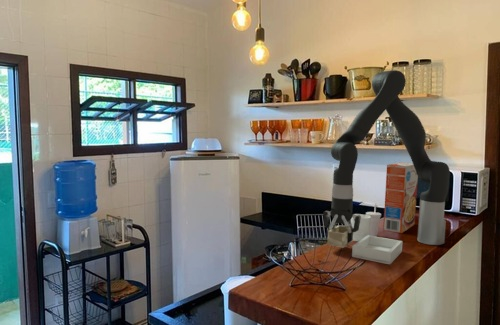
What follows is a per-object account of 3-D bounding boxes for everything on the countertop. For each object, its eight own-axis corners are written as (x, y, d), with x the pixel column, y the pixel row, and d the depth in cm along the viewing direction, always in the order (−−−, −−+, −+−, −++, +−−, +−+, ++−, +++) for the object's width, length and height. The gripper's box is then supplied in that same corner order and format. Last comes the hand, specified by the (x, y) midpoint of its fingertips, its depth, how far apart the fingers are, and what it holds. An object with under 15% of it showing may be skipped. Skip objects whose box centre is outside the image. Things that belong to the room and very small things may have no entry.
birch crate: (337, 238, 152) (338, 225, 152) (353, 240, 149) (353, 227, 148) (327, 244, 143) (327, 231, 142) (343, 247, 140) (343, 234, 139)
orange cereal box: (401, 233, 173) (405, 166, 171) (383, 230, 178) (387, 164, 176) (414, 224, 192) (418, 163, 189) (397, 221, 196) (401, 162, 194)
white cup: (345, 238, 162) (347, 214, 161) (361, 236, 165) (362, 213, 165) (358, 243, 155) (359, 218, 154) (373, 241, 158) (375, 217, 157)
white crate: (367, 245, 153) (367, 235, 153) (401, 251, 146) (402, 241, 146) (352, 256, 138) (352, 245, 138) (389, 264, 131) (390, 252, 131)
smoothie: (381, 238, 164) (382, 205, 163) (365, 236, 165) (367, 204, 164) (379, 234, 170) (380, 202, 169) (363, 233, 172) (365, 201, 171)
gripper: (320, 195, 145) (318, 239, 146) (358, 199, 137) (356, 246, 139) (327, 192, 151) (326, 235, 153) (364, 197, 143) (362, 241, 145)
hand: (340, 240), depth 146 cm, fingers closed on birch crate, 6 cm apart
